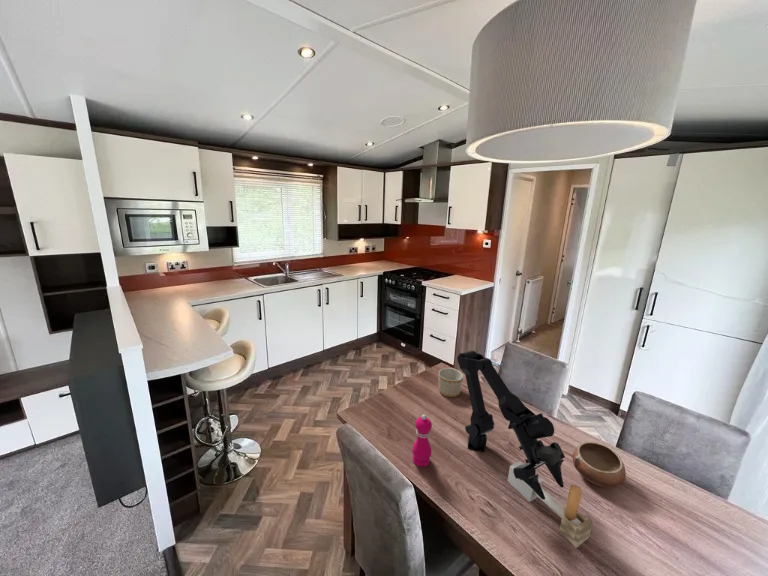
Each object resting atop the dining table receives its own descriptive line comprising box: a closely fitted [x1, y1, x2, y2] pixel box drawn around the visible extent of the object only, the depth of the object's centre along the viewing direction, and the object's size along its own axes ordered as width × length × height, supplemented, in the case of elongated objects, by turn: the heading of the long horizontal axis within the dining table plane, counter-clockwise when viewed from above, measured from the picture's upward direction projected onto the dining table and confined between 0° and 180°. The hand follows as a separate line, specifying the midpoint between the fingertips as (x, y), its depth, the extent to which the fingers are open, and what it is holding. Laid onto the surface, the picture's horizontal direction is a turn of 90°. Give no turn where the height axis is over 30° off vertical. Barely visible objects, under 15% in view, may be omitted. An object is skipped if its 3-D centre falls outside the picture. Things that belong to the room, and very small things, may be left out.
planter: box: [437, 367, 464, 398], centre depth 160 cm, size 13×13×10 cm
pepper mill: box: [411, 414, 432, 468], centre depth 114 cm, size 7×7×20 cm
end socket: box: [559, 511, 594, 549], centre depth 90 cm, size 5×6×6 cm
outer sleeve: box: [507, 461, 543, 503], centre depth 105 cm, size 9×5×6 cm, turn 28°
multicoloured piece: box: [533, 484, 583, 527], centre depth 95 cm, size 16×3×12 cm, turn 28°
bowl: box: [572, 441, 627, 488], centre depth 111 cm, size 16×16×10 cm
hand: (553, 493), depth 96 cm, fingers open, 9 cm apart
